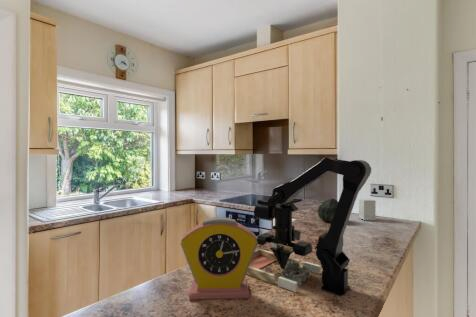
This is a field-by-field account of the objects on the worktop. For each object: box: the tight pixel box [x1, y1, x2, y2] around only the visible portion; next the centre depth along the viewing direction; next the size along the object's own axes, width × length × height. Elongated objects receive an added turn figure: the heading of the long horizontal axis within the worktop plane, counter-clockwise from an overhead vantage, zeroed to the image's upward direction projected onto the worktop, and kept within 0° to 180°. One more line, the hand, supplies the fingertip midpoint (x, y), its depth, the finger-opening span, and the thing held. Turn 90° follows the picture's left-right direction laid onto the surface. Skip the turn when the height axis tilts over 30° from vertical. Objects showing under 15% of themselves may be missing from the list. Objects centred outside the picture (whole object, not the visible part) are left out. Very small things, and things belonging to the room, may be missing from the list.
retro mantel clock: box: [180, 216, 259, 301], centre depth 81 cm, size 22×9×22 cm, turn 93°
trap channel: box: [246, 248, 301, 284], centre depth 98 cm, size 18×17×2 cm
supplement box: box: [358, 198, 377, 221], centre depth 172 cm, size 7×7×13 cm
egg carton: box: [279, 260, 311, 286], centre depth 90 cm, size 11×8×4 cm
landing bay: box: [277, 261, 322, 293], centre depth 89 cm, size 6×17×2 cm, turn 139°
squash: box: [317, 198, 339, 223], centre depth 167 cm, size 14×15×15 cm
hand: (283, 268), depth 93 cm, fingers closed
